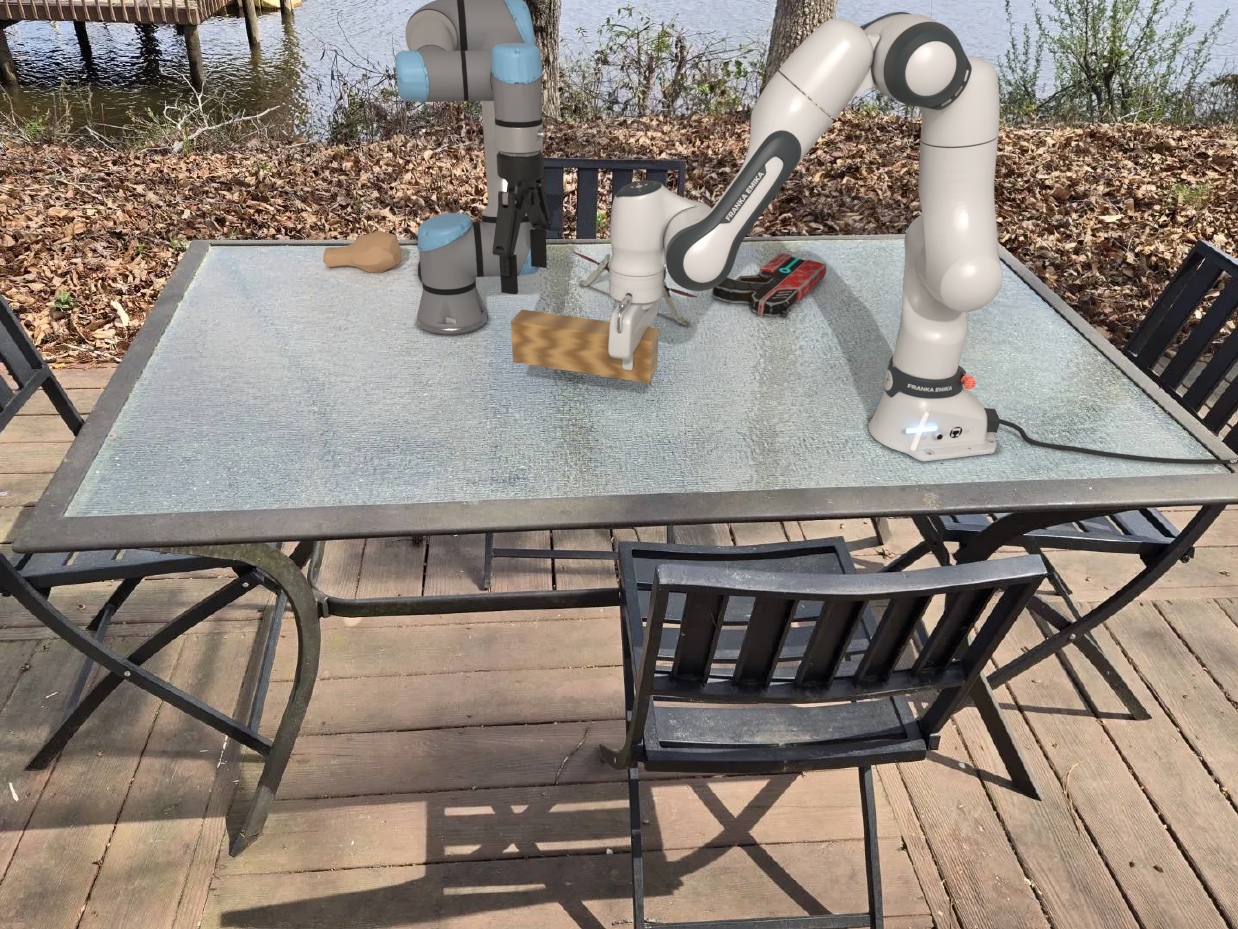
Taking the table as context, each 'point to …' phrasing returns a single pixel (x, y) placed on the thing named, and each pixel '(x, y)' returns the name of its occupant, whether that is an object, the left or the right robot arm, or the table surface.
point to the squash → (367, 253)
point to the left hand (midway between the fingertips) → (524, 279)
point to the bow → (669, 300)
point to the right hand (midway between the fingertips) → (633, 359)
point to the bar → (578, 346)
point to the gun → (773, 285)
